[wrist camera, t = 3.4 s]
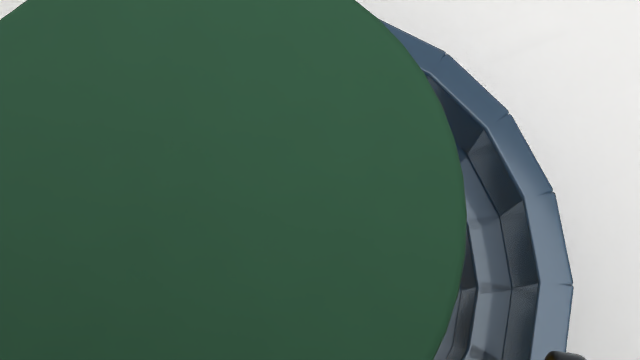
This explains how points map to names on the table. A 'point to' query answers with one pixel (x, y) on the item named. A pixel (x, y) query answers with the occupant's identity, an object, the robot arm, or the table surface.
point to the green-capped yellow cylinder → (222, 184)
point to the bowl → (499, 227)
